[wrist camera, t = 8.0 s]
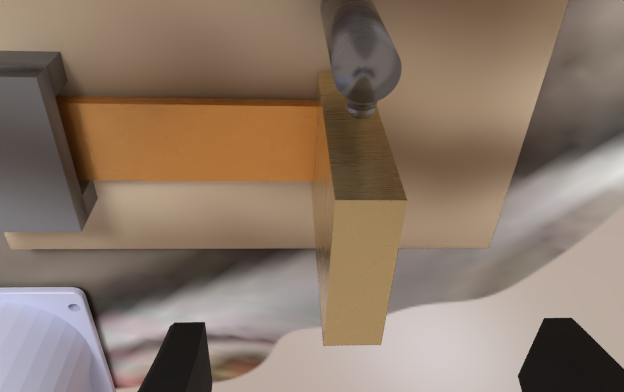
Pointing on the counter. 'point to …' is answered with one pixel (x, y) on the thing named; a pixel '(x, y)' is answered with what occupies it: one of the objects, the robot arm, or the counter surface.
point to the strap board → (263, 85)
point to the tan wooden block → (268, 177)
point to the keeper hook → (360, 54)
